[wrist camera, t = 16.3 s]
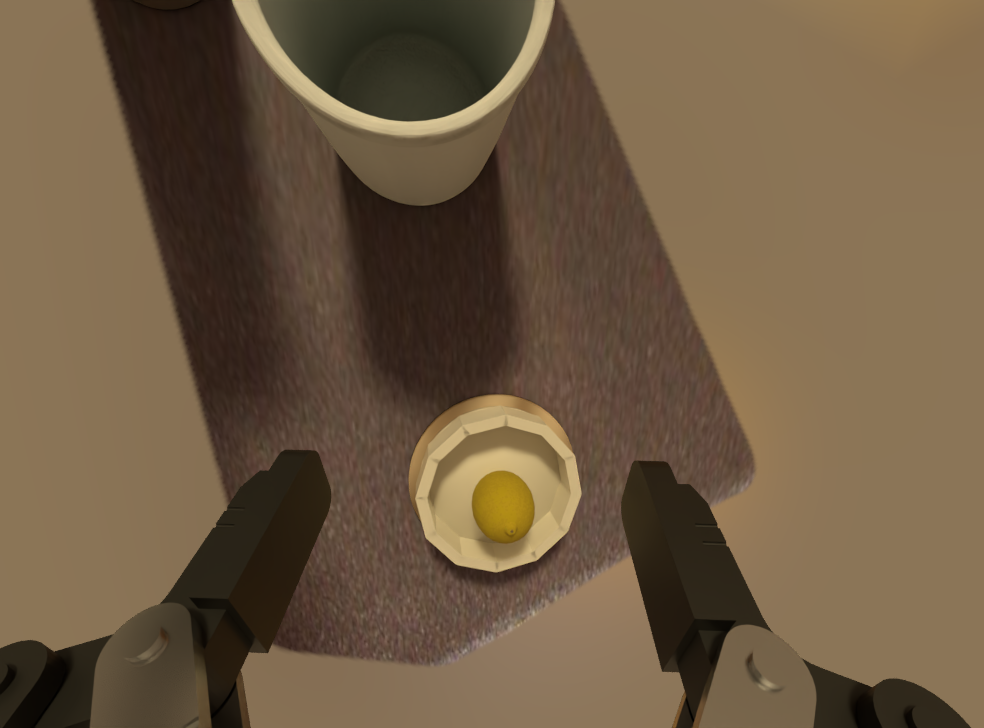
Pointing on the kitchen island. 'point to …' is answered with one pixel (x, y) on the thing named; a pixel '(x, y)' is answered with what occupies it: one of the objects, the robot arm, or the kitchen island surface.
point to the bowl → (477, 452)
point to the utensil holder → (404, 81)
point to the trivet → (466, 407)
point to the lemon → (503, 507)
